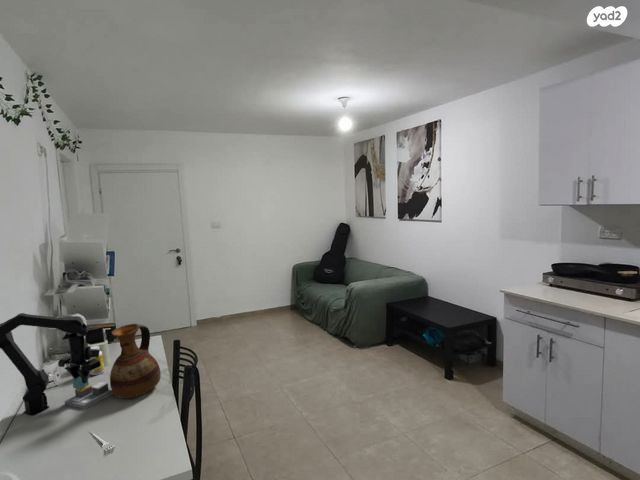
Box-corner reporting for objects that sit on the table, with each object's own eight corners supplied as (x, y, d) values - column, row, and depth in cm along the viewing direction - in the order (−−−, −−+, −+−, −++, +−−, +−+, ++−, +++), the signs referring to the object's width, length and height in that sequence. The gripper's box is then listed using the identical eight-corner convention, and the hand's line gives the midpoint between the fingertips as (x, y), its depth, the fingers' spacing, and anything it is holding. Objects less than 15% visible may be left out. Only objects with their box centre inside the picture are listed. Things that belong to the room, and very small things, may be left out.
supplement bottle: (107, 369, 192) (104, 345, 191) (98, 375, 186) (95, 350, 184) (95, 369, 193) (92, 345, 192) (85, 375, 186) (82, 350, 185)
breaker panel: (84, 409, 155) (84, 404, 155) (64, 404, 160) (64, 399, 159) (112, 393, 167) (112, 388, 167) (93, 389, 172) (93, 385, 171)
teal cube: (79, 389, 160) (78, 381, 159) (73, 387, 161) (72, 379, 161) (88, 384, 163) (88, 377, 163) (82, 383, 165) (81, 375, 164)
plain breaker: (99, 395, 162) (98, 388, 161) (92, 394, 163) (91, 386, 163) (108, 390, 166) (107, 383, 166) (102, 389, 167) (101, 381, 167)
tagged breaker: (82, 398, 160) (81, 390, 160) (75, 396, 162) (74, 389, 162) (92, 393, 164) (91, 385, 164) (85, 391, 166) (84, 384, 166)
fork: (94, 430, 141) (93, 426, 141) (118, 450, 128) (117, 444, 128) (84, 435, 138) (84, 430, 138) (107, 455, 126) (107, 450, 125)
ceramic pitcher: (100, 399, 162) (92, 331, 159) (136, 377, 181) (129, 316, 178) (138, 404, 156) (130, 334, 153) (171, 381, 175) (164, 318, 172)
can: (91, 362, 202) (88, 341, 201) (110, 359, 206) (108, 337, 204) (88, 369, 194) (86, 346, 192) (109, 365, 197) (106, 342, 196)
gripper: (110, 342, 164) (114, 376, 166) (80, 338, 172) (84, 371, 173) (85, 352, 154) (90, 389, 156) (55, 347, 161) (59, 382, 163)
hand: (81, 382), depth 162 cm, fingers closed on teal cube, 4 cm apart
